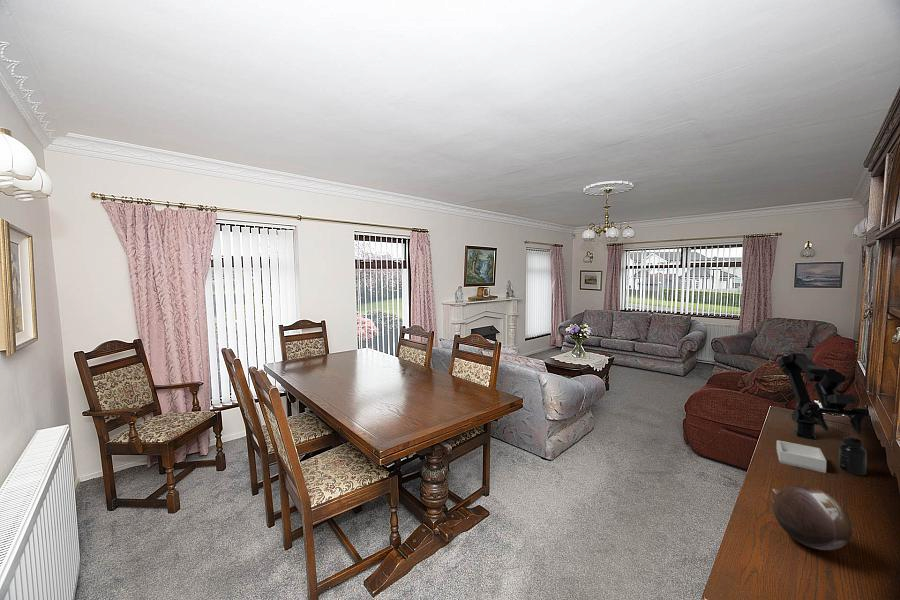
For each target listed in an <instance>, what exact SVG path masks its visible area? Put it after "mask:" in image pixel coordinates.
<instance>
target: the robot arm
mask: <svg viewBox="0 0 900 600" xmlns="http://www.w3.org/2000/svg"><path fill="white" fill-rule="evenodd" d="M777 364H778V367H780V370H781V371H782V373H784V374H785V375H786V376H788V380H789V382H790V385H791V389H792V392H793V394H794V397H795V400H796V405H795V407H794V411H793V412H792V413H791V414H790V416H791V420H792V421H793V422H795V423H796V430H794V433H795V435H796V437H800V438H806V439H812V440H817V436H816V434H815V433H816V432H815V431H816V425H817V426H819V427H821V428H822V429H823V430H824V431H826V432H828V431H829V429H828V427H829V426H828V425H827V423H826V421H825V418H824V414H830V415H839V416H840V415H841V416H843V415H844V416H848V418H849V419H850V420H849V422H850V424H851V425H852V427H853V429H854V431H855V433H856V434H857V435H861V431H862V422H863V421H865V420H866V419H868V418H869V417H870V416H869V412H870V410H869V409H868V408H865V407H855V406H854V407H852V408H851V409H850V410H849V409H845V408H847V405H851V404H855V403H856V398H855V396H854V394H852V393H849V394H848V393H846V394H837V391H836V390H839V388H840V387H841V386H843V384H844V383H845V382H846V380H847V379H846V375H844V374H843V373H841V372H839V371H836V369H835V368H826V367H824V366H819V365H817V364H816V363H815V362H813V361H812V360H811V359H810V358H808V357H807V354H805V353H798V352H796V353H795V352H793V353H789V354H788V355H783V356H782V357H780V358H779V359H778V362H777ZM803 371H804V372H805V374H804V376H805V377H806V379H807V380H808V381H809V382H814V383H815V384H814V385H813V387H812V391H815V392H816V394H817V397H818V400H817V401H818V403H817V402H813V400H811V397H810V394H809V392H808V389H807V387H806V383H805V381H804V378H803V375H802V372H803ZM819 404H820V405H821V407H820V405H819Z"/></svg>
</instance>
